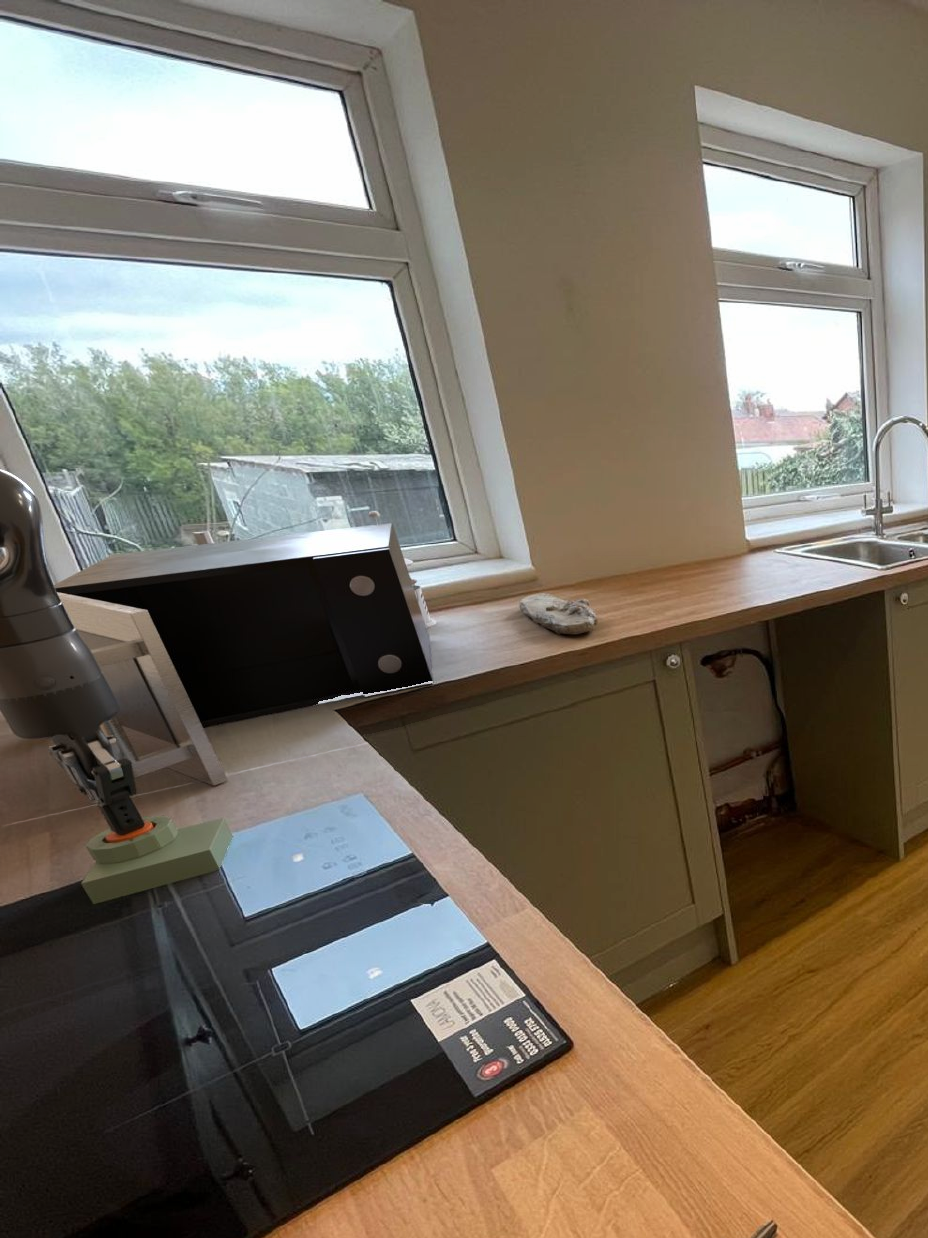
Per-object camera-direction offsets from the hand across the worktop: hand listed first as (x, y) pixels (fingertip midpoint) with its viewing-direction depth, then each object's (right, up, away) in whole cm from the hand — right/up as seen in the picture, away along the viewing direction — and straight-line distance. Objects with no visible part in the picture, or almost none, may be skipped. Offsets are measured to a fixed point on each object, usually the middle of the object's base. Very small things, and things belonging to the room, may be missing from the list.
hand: (129, 829), depth 82 cm
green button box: (+3, -4, +1) cm, 5 cm away
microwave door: (-23, +4, +23) cm, 33 cm away
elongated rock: (+4, +32, +85) cm, 91 cm away
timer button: (0, -2, +1) cm, 2 cm away
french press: (-28, +30, +85) cm, 94 cm away
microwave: (-26, +17, +53) cm, 61 cm away
